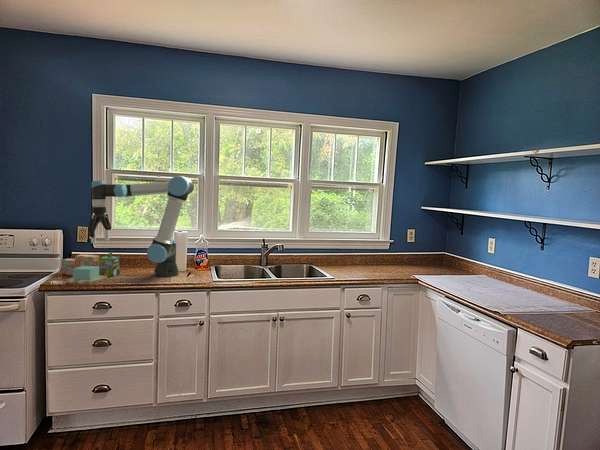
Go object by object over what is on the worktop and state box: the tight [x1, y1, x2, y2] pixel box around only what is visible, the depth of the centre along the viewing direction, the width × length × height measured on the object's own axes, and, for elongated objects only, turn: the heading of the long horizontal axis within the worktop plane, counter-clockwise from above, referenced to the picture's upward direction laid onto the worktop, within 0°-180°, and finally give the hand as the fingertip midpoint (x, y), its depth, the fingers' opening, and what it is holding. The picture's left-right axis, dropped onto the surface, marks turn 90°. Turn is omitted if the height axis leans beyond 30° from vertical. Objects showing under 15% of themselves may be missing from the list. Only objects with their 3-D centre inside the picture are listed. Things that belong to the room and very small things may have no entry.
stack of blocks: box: [61, 254, 100, 276], centre depth 251 cm, size 21×6×12 cm, turn 84°
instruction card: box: [44, 280, 68, 285], centre depth 227 cm, size 10×7×1 cm
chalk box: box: [99, 251, 121, 278], centre depth 250 cm, size 9×9×15 cm
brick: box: [72, 266, 99, 280], centre depth 235 cm, size 10×10×6 cm
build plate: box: [63, 275, 108, 285], centre depth 235 cm, size 16×16×2 cm
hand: (100, 241), depth 242 cm, fingers open, 13 cm apart
